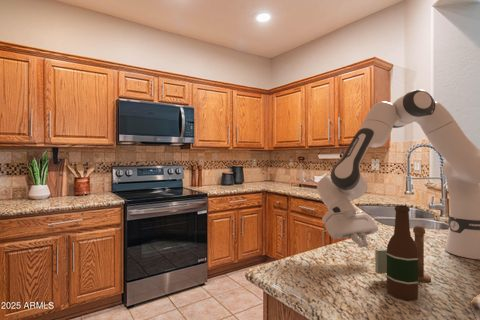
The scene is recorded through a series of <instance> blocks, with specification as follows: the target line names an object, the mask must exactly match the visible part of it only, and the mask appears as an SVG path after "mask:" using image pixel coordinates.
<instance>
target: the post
mask: <svg viewBox="0 0 480 320" xmlns="http://www.w3.org/2000/svg"><path fill="white" fill-rule="evenodd" d="M412 232H413V234H414V241H415V243H416V246H417V248H418V282H422V283H430V282H431V281H432V277H431V276H430V275H429V274H428V273H425V267H424V266H425V264H424V263H425V262H424V261H425V260H424V259H425V258H424V257H425V255H424V254H425V253H424V252H425V249H424V247H425V243H424V242H425V241H424V240H425V237H424V236H425V234H426V229H425V227H423V226H421V225H415V226H414V227H413V228H412Z"/></svg>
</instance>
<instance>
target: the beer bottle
mask: <svg viewBox="0 0 480 320" xmlns="http://www.w3.org/2000/svg"><path fill="white" fill-rule="evenodd" d="M394 211H395V219H394V232H393V235H392V236H391V237H390V238H389V241H388V243H387V246H386V249H387V273H386V292H387V294H389V296H392V297H393V298H395V299H398V300H402V301H406V302H411V301H417V300H418V297H419V296H418V295H419V281H418V248H417V246H416V243H415V239H413V236H412V233H411V229H410V228H411V227H410V211H411V209H410V207H409V206H407V205H401V204H400V205H395V206H394Z"/></svg>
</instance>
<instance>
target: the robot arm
mask: <svg viewBox="0 0 480 320" xmlns="http://www.w3.org/2000/svg"><path fill="white" fill-rule="evenodd" d="M414 122H415V123H417V124H418V125H419V126H420V128H421V130H422V132H423V133H424V135H425V136H426V138H427V140H428V141H429V143H430V144H431V145H432V147H433V149H434V150H435V151H436V152H437V153H438V154H439V155H440V156H441V157H442V158H443V159H444V160H445V162H444V163H443V164H442V173H443V174H444V177H445V180H446V181H445V183H446V185H447V190H448V194H449V195H448V196H449V216H448V219H447V221H448V222H447V223H448V229H447V231H448V232H447V235H446V236H447V237H446V243H445V245H444V251H446V252H447V253H449V254H452V255H455V256H458V257H463V258H467V259H473V260H480V148H478V147H477V145H476V144H474V142H472V141H471V140H470V139H469V138H468V137H467V136H466V133H464V131H463V130H462V128H461V127H460V126H459V123H457V121H456V120H455V118H454V117H453V115H452V114H451V113H450V112H449V111H448V110H447V108H445V106H444V105H442V104H441V103H440V102H439V101H435V100H434V98H433V96H432V95H431V94H430V93H429V92H428V91H426V90H424V89H421V88H420V89H419V88H418V89H414V90H410V91H408V92H407V93H406V94H404V95H402V96H400V97H399V98H397V99H396V100H395V101H394V102H392V103H391V102H388V101H378V102H376V103H374V104H373V105H372V107H370V109H369V111H368V113H367V114H366V115H365V118H364V119H363V122H362V124H361V126H360V128H359V130H358V131H357V132H356V133H355V135H354V137H353V138H352V140H351V142H350V143H349V145H348V147H347V149H346V151H345V153H344V154H343V156H342V157H341V158H340V159H339V161H337V163H336V164H335V165H334V166H333V167H332V168H331V171H330V175H325V176H323V177H322V178H320V180H319V181H317V185H316V189H317V192H318V195H319V197H320V199H321V201H322V202H323V204H324V205H325V206H326V207H327V212H325V214H324V215H323V216H322V219H321V220H322V222H323V223H324V227H325V228H326V231H327V232H328V235H329V236H330V237H331V239H333V240H338V239H346V238H350V239H351V240H352V241H353V242H354V243H356V244H357V246H358V247H359V248H360V249H361V248H366V247H368V246H369V242H368V240H367V236H369V235H374V234H376V232H378V230H379V226H378V224H377V223H376V222H375V221H374V220H373V219H372V217H371V216H370V215H369V214H367V213H365V212H363V211H358V210H356V208H355V207H354V205H353V204H352V202H351V201H354V200H357V199H358V198H361V197H362V196H364V195H365V194H367V190H368V182H367V181H366V179H365V177H364V176H363V174H362V173H361V169H360V168H361V166H360V165H361V162H362V161H363V158H364V156H365V155H366V152H367V151H368V149H369V148H380V147H382V146H384V145H385V143H386V142H387V141H388V139H389V137H390V135H391V132H392V131H393V129H397V128H398V129H399V128H402V127H405V126H407V125H409V124H412V123H414Z"/></svg>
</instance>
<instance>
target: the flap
mask: <svg viewBox="0 0 480 320" xmlns="http://www.w3.org/2000/svg"><path fill="white" fill-rule="evenodd" d="M374 251H375V252H374V253H375V254H374V256H375V257H374V259H375V260H374V261H375V262H374V263H375V269H374V271H375V273H376V274H387V248H382V249H381V248H380V249H378V248H376V249H374Z"/></svg>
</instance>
